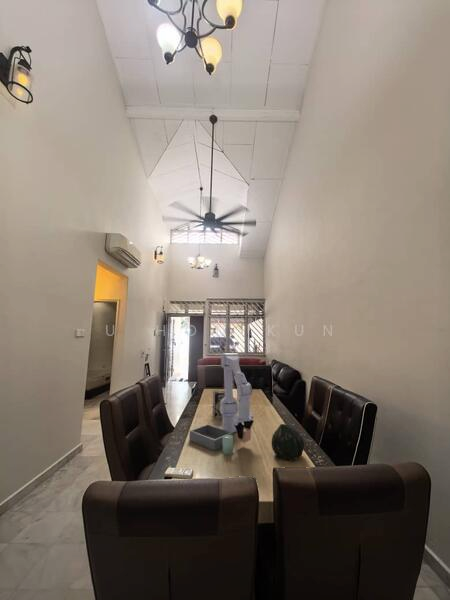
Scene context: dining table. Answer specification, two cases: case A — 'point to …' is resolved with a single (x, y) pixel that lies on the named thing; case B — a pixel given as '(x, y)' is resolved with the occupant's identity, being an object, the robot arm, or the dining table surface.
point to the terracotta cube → (245, 435)
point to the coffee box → (217, 403)
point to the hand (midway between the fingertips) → (243, 436)
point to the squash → (287, 443)
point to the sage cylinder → (227, 445)
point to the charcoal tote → (208, 436)
